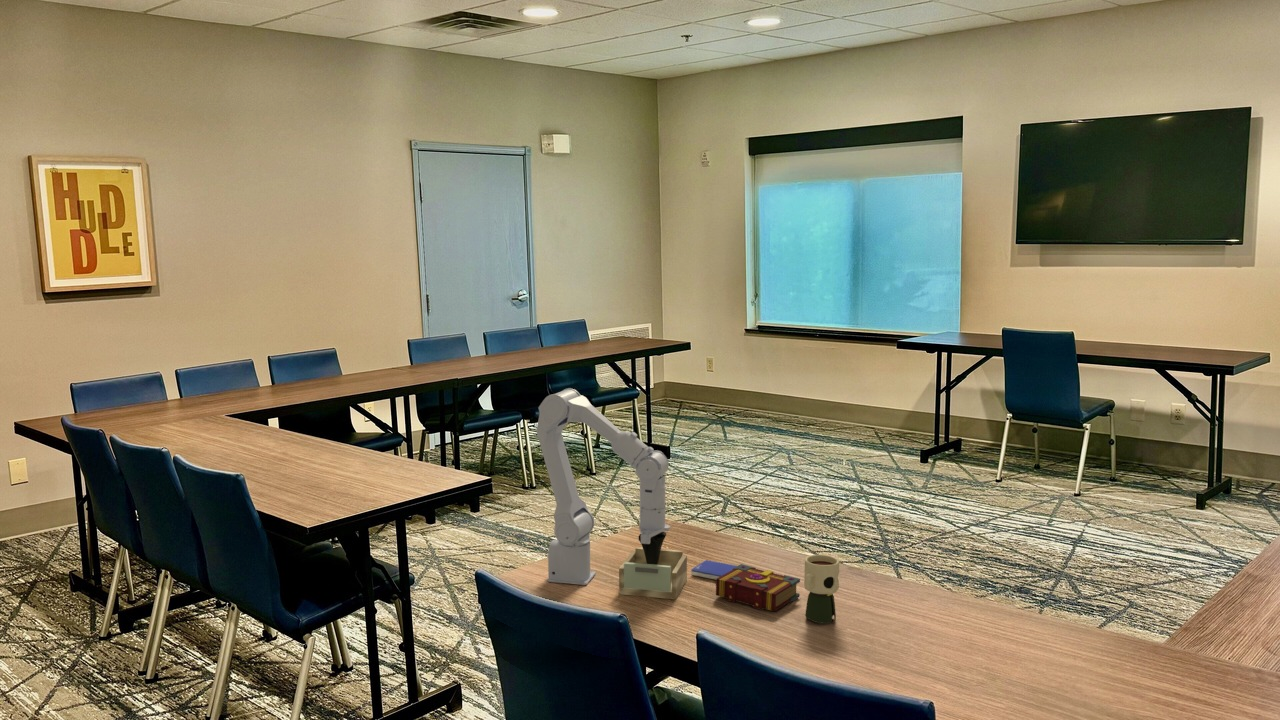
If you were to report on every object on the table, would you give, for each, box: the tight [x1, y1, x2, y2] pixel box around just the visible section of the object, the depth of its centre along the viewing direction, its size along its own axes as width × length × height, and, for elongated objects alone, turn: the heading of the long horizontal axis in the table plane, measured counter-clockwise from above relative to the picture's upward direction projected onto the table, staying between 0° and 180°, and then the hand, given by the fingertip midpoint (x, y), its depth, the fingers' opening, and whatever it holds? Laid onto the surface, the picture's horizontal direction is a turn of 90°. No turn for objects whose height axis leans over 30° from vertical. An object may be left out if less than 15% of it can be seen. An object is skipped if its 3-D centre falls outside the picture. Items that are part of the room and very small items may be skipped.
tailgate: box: [624, 562, 671, 592], centre depth 217 cm, size 10×2×6 cm, turn 76°
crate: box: [618, 546, 688, 600], centre depth 223 cm, size 13×12×7 cm
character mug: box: [803, 554, 840, 624], centre depth 204 cm, size 11×7×13 cm, turn 137°
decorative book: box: [715, 563, 801, 612], centre depth 217 cm, size 11×16×5 cm
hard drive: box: [690, 559, 738, 580], centre depth 231 cm, size 2×8×12 cm
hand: (652, 565), depth 222 cm, fingers closed
